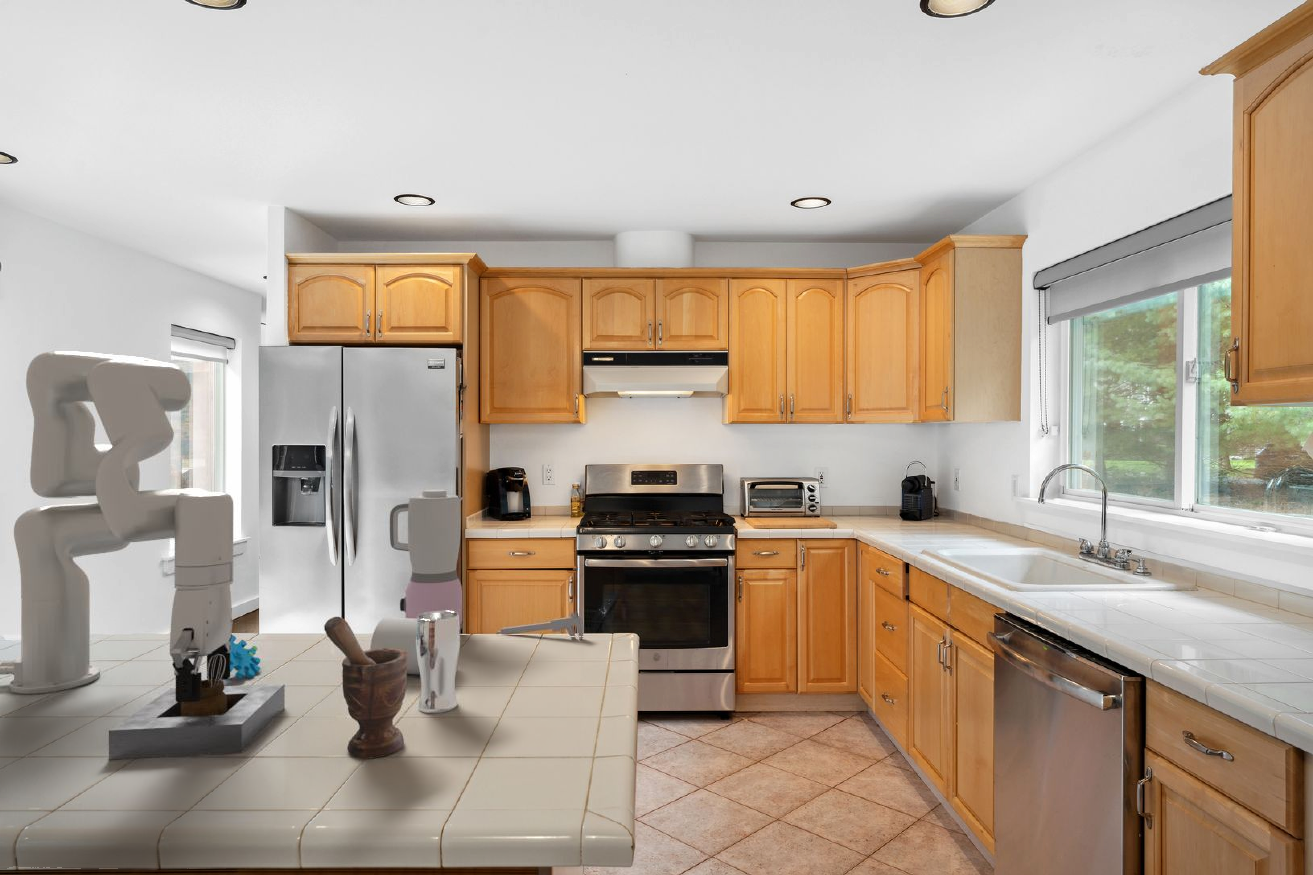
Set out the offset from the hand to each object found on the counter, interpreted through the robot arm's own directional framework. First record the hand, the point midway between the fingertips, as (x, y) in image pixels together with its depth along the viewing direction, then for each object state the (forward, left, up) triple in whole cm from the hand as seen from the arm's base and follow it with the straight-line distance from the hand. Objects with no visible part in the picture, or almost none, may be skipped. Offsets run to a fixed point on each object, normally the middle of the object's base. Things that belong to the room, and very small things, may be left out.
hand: (204, 689), depth 111 cm
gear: (-6, +27, -7) cm, 29 cm away
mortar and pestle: (+26, -11, -6) cm, 29 cm away
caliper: (+49, +47, -7) cm, 68 cm away
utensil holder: (0, 0, -6) cm, 7 cm away
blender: (+24, +52, -6) cm, 58 cm away
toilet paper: (+25, +25, -7) cm, 36 cm away
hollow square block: (0, 0, -6) cm, 6 cm away
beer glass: (+33, +6, -6) cm, 34 cm away
